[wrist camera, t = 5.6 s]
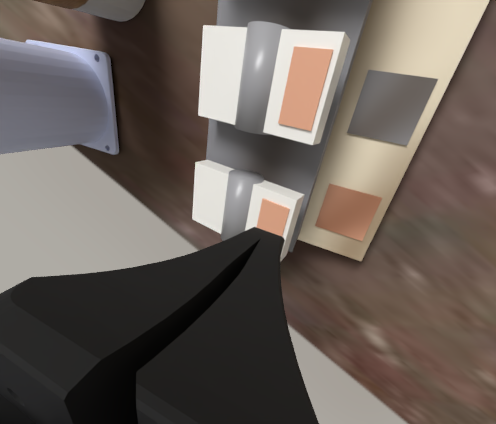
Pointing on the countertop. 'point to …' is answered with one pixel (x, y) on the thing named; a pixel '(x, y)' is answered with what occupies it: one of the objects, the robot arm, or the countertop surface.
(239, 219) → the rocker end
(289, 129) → the rocker middle
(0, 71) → the robot arm
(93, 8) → the coffee cup
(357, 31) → the switch unit
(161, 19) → the countertop surface
